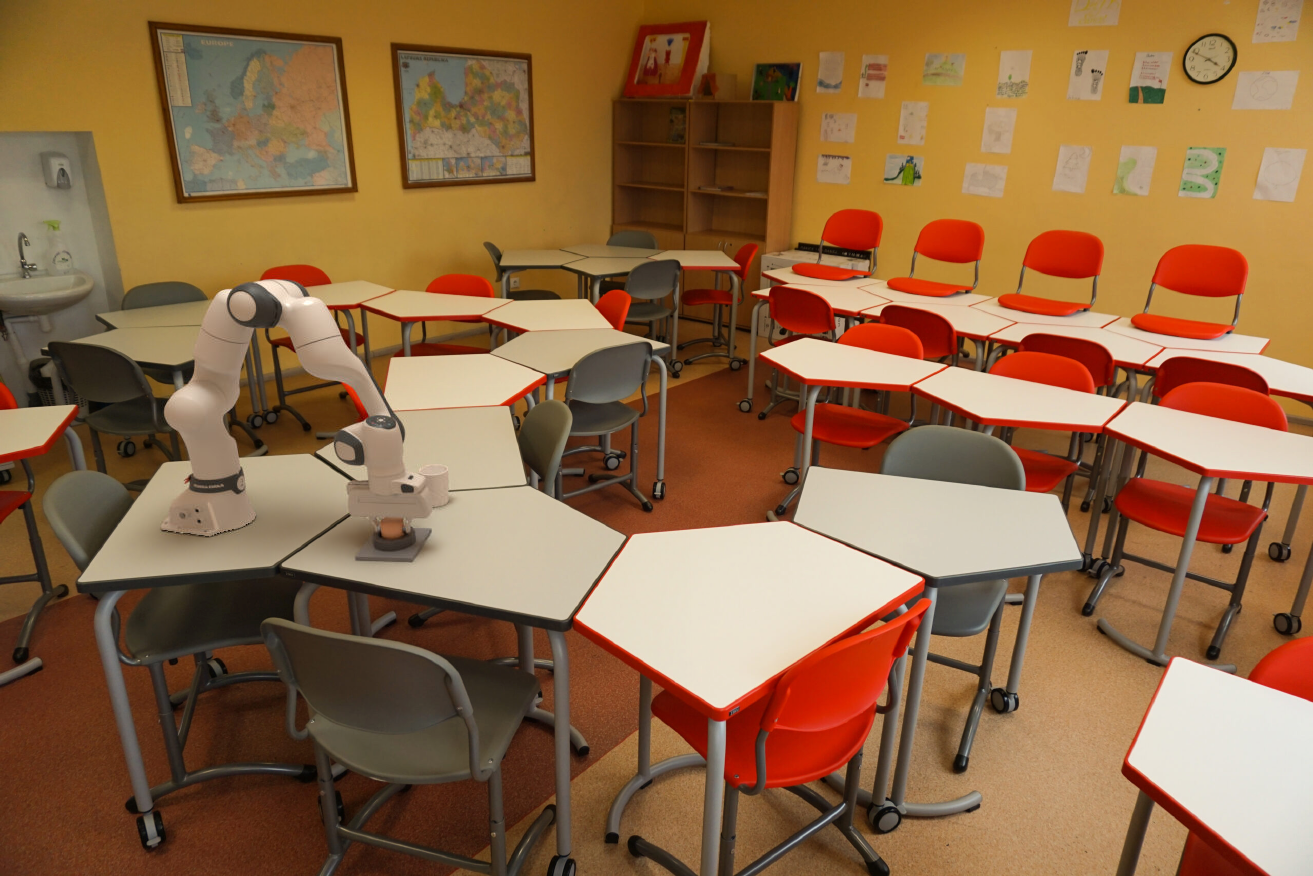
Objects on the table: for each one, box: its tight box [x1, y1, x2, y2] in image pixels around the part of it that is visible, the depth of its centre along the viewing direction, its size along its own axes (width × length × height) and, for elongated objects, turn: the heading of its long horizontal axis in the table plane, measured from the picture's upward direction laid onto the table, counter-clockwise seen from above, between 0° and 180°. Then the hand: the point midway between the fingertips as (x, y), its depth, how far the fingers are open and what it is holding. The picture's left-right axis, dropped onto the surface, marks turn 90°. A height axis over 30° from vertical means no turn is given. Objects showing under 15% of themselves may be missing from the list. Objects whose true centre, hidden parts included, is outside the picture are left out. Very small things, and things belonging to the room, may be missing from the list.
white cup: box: [418, 463, 450, 508], centre depth 227 cm, size 8×8×10 cm
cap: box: [379, 517, 405, 540], centre depth 203 cm, size 6×6×5 cm
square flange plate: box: [354, 525, 433, 563], centre depth 204 cm, size 14×16×4 cm
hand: (393, 531), depth 203 cm, fingers closed on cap, 5 cm apart
